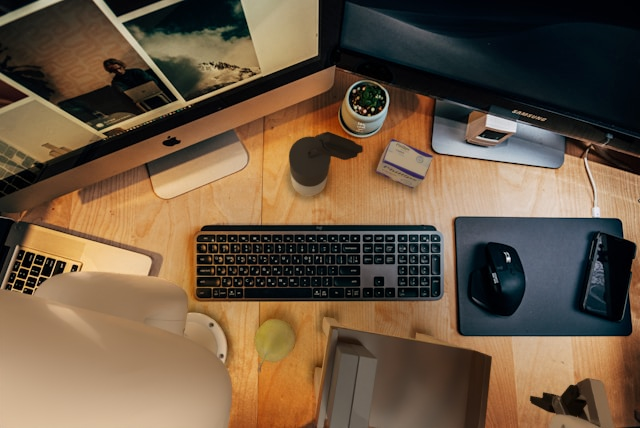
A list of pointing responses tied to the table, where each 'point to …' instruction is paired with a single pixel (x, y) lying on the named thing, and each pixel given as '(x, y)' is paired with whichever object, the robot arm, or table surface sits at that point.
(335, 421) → the grey book
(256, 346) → the fruit
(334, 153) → the track light
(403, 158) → the box
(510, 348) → the table surface
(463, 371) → the brown shallow tray
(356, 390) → the grey book
